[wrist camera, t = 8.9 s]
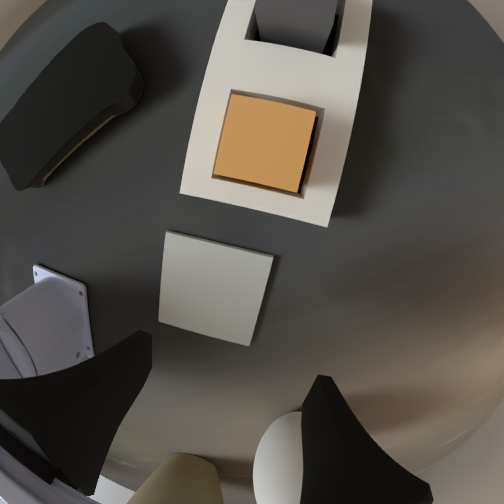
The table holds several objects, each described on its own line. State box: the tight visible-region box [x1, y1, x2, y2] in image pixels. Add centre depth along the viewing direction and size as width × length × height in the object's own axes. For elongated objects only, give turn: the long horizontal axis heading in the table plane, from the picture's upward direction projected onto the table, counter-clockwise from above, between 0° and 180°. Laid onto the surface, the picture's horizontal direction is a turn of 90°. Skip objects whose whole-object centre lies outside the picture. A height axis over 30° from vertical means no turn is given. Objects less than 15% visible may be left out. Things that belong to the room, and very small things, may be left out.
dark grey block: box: [254, 0, 337, 54], centre depth 12 cm, size 4×4×6 cm
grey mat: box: [159, 230, 273, 346], centre depth 21 cm, size 8×8×1 cm
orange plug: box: [214, 94, 316, 193], centre depth 15 cm, size 4×4×6 cm
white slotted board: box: [180, 0, 372, 227], centre depth 14 cm, size 23×9×3 cm, turn 168°
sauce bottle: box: [253, 412, 303, 504], centre depth 17 cm, size 8×8×18 cm
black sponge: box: [0, 22, 144, 191], centre depth 16 cm, size 16×8×4 cm, turn 115°
